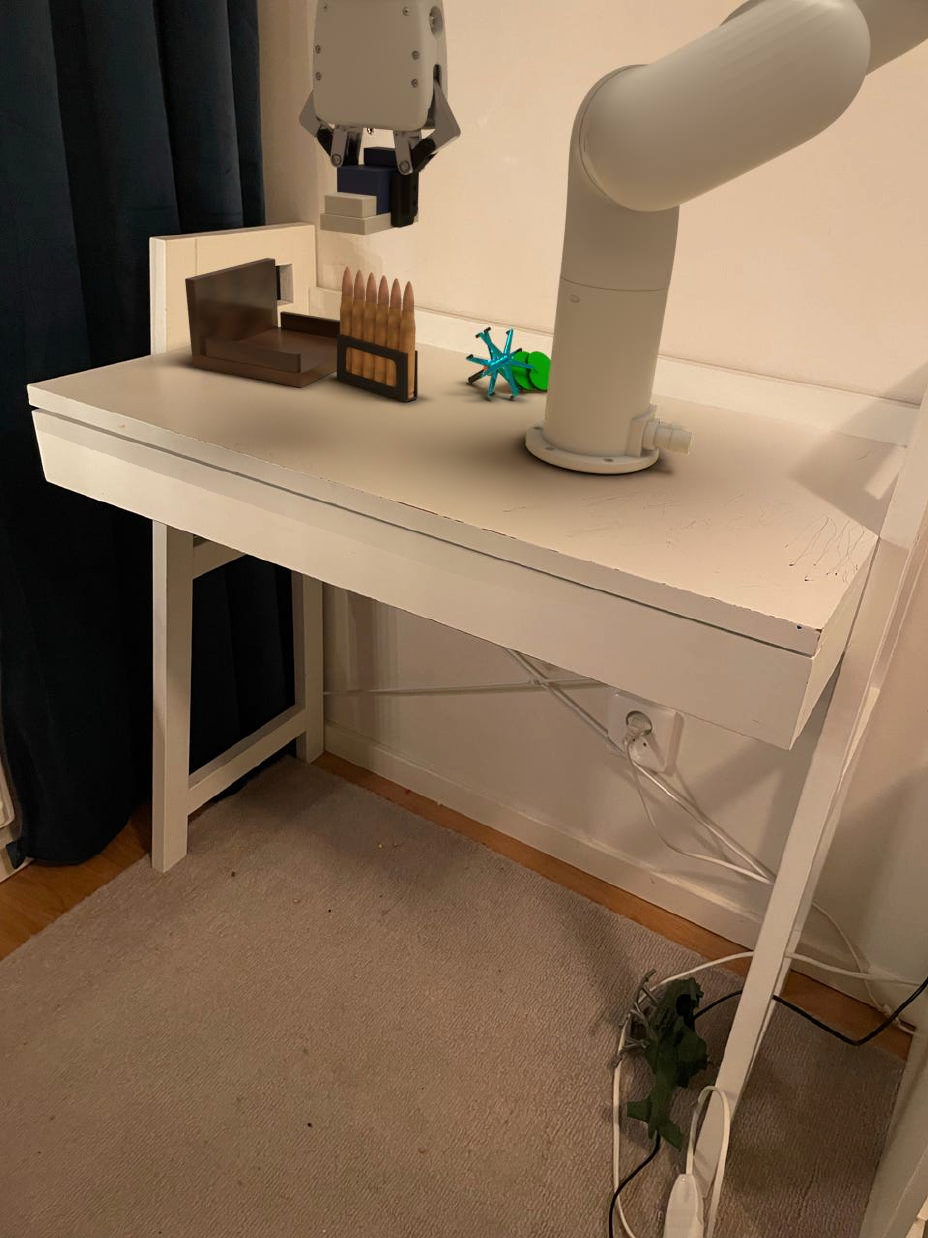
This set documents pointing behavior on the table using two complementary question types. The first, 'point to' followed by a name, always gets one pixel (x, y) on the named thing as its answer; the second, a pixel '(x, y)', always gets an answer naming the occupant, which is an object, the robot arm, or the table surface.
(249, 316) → the wooden book end
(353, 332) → the ammunition clip
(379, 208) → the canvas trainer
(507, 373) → the stick construction toy
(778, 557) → the table surface
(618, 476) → the table surface
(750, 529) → the table surface
